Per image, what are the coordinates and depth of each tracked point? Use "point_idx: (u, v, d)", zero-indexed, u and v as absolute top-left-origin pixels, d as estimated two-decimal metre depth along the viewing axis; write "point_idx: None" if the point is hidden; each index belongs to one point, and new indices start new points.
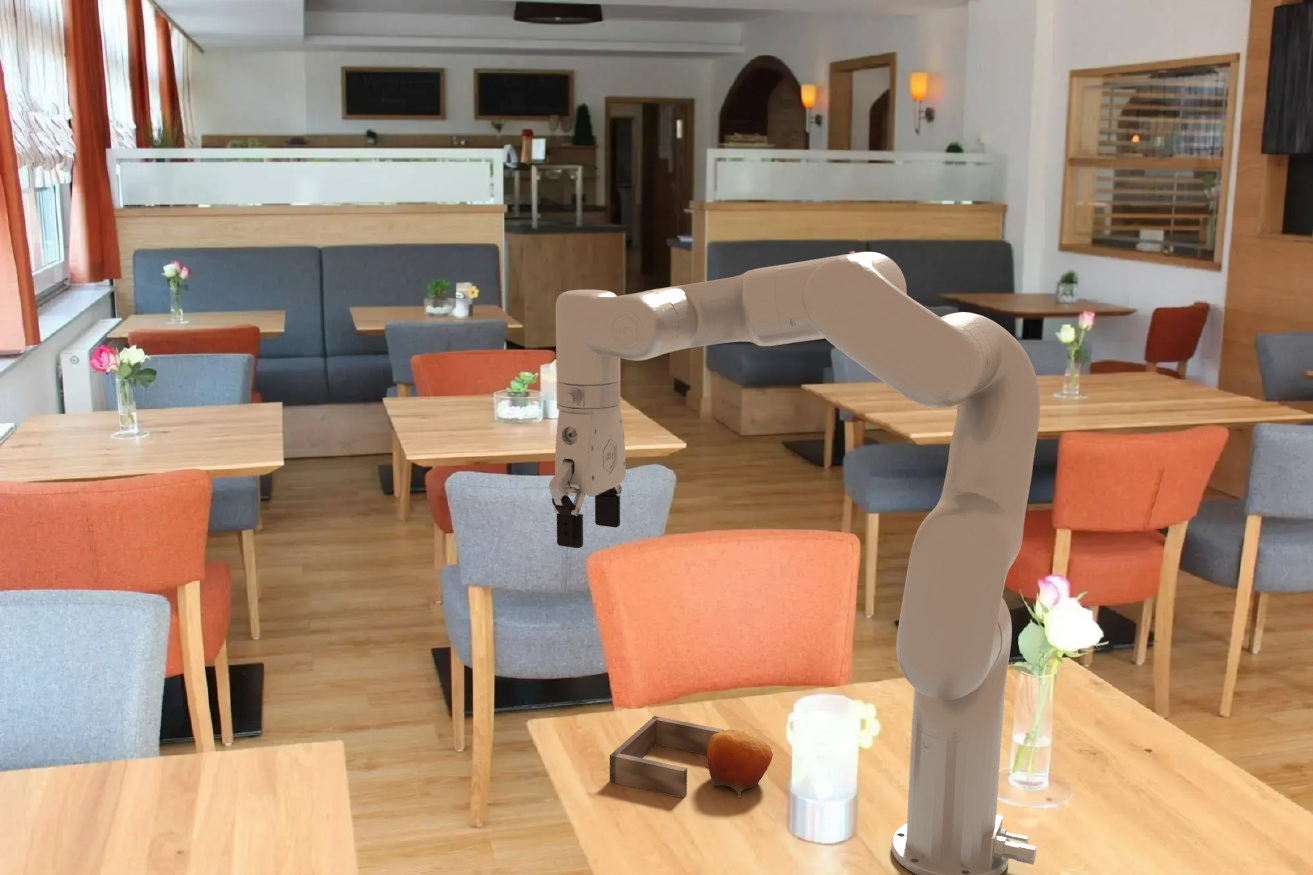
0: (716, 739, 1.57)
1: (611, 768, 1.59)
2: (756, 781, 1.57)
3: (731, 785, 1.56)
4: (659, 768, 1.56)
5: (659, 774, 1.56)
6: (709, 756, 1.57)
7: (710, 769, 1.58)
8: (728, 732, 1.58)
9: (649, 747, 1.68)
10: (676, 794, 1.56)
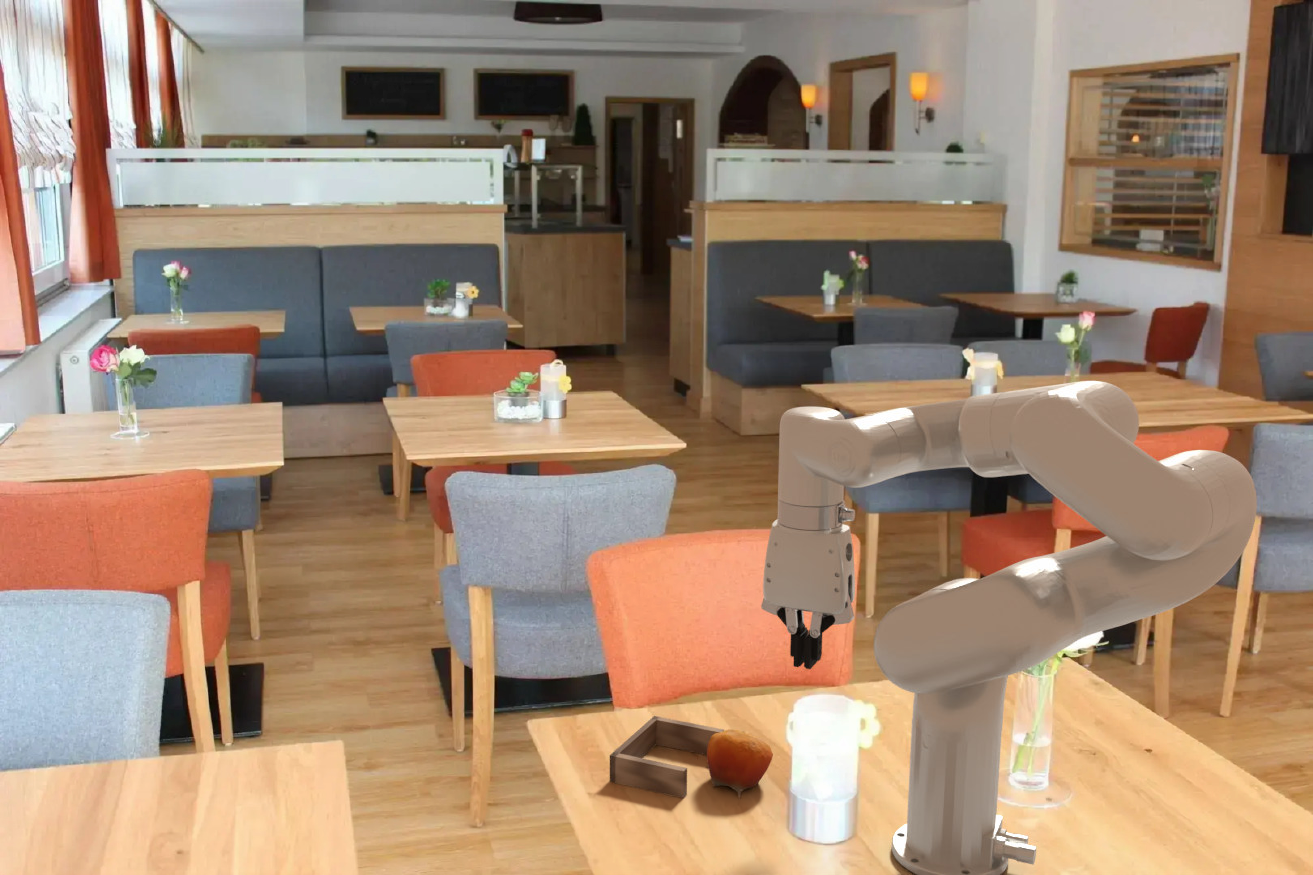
0: (716, 739, 1.57)
1: (611, 768, 1.59)
2: (756, 781, 1.57)
3: (731, 785, 1.56)
4: (659, 768, 1.56)
5: (659, 774, 1.56)
6: (709, 756, 1.57)
7: (710, 769, 1.58)
8: (728, 732, 1.58)
9: (649, 747, 1.68)
10: (676, 794, 1.56)
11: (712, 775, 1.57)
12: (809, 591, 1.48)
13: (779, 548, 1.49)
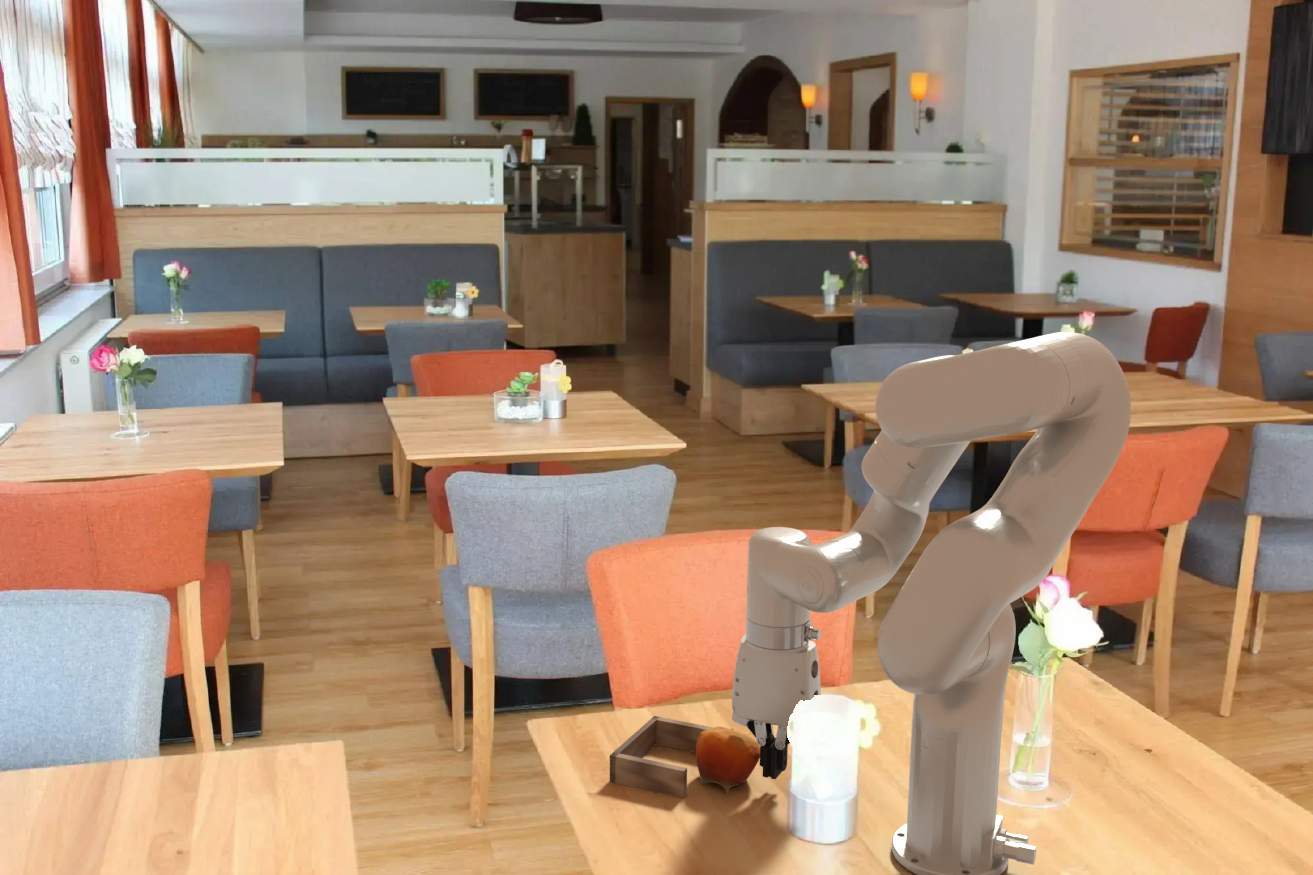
0: (704, 736, 1.58)
1: (611, 768, 1.59)
2: (744, 778, 1.57)
3: (719, 782, 1.57)
4: (659, 768, 1.56)
5: (659, 774, 1.56)
6: (697, 753, 1.58)
7: (698, 766, 1.58)
8: (717, 729, 1.59)
9: (649, 747, 1.68)
10: (676, 794, 1.56)
11: (700, 772, 1.58)
12: (776, 706, 1.53)
13: (747, 664, 1.53)
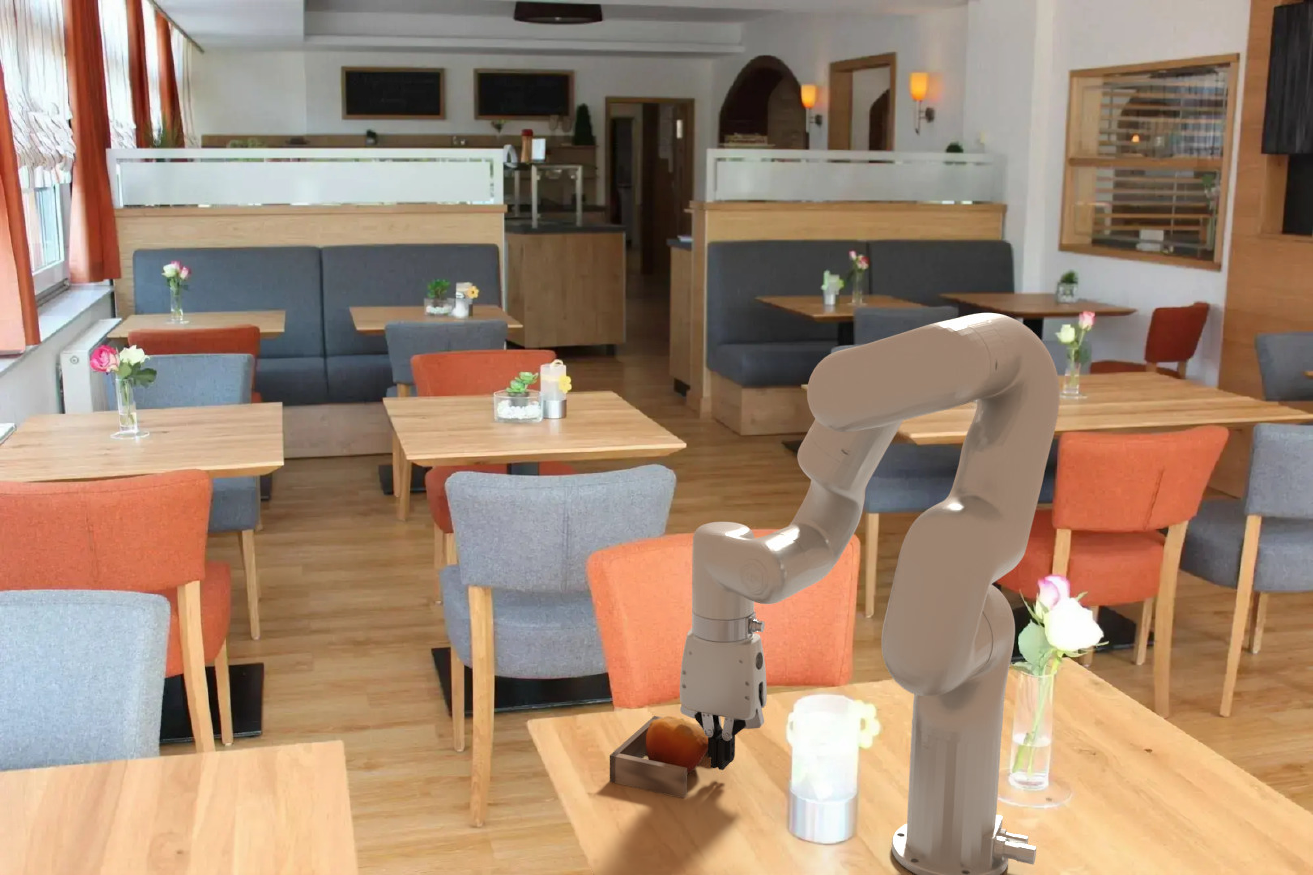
0: (653, 726, 1.61)
1: (611, 768, 1.59)
2: (692, 767, 1.60)
3: None
4: (659, 768, 1.56)
5: (659, 774, 1.56)
6: (647, 742, 1.61)
7: (648, 754, 1.61)
8: (666, 719, 1.62)
9: None
10: (676, 794, 1.56)
11: None
12: (722, 698, 1.55)
13: (693, 657, 1.56)
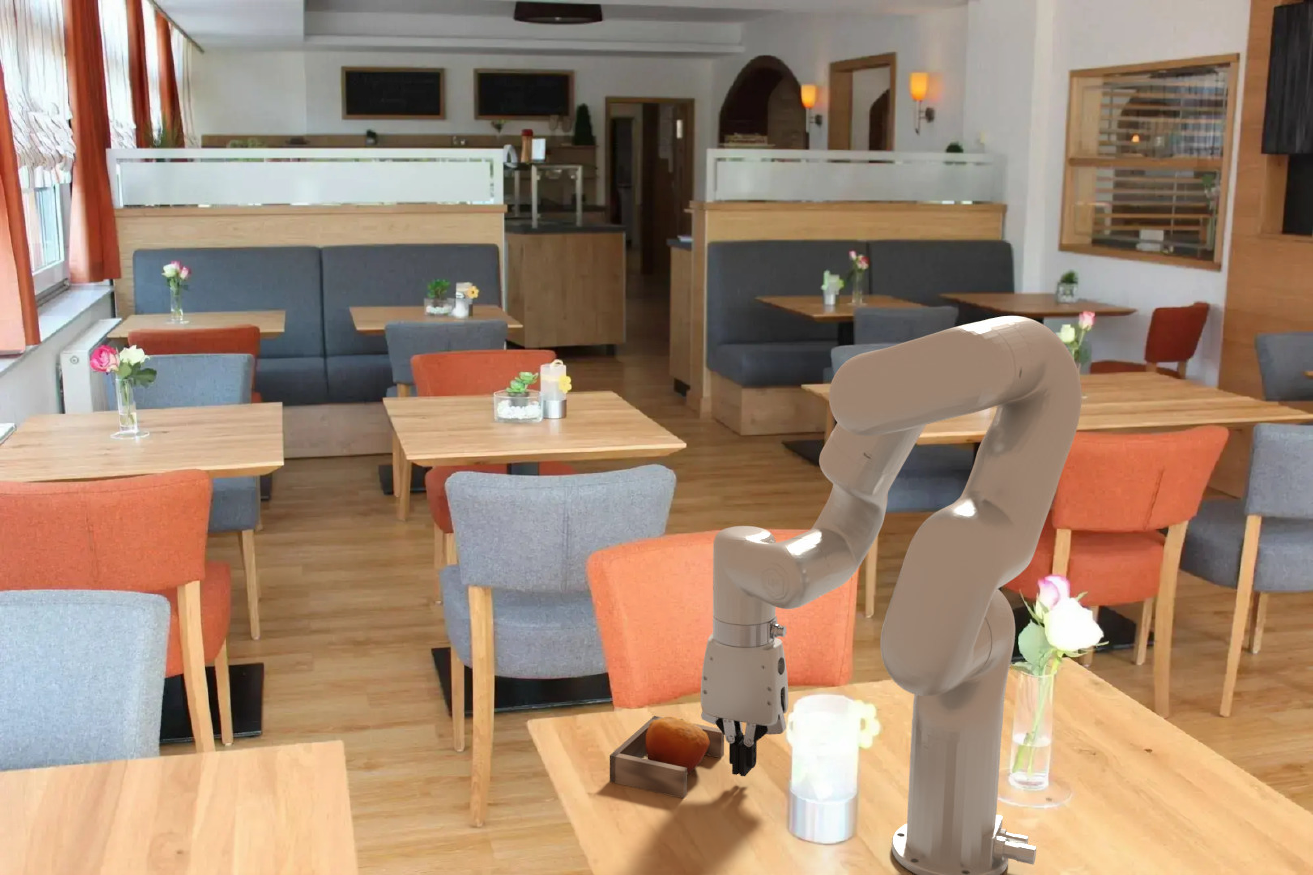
0: (653, 726, 1.61)
1: (611, 768, 1.59)
2: (691, 767, 1.60)
3: None
4: (659, 768, 1.56)
5: (659, 774, 1.56)
6: (646, 742, 1.61)
7: (647, 755, 1.61)
8: (666, 719, 1.62)
9: None
10: (676, 794, 1.56)
11: None
12: (743, 704, 1.54)
13: (714, 663, 1.55)
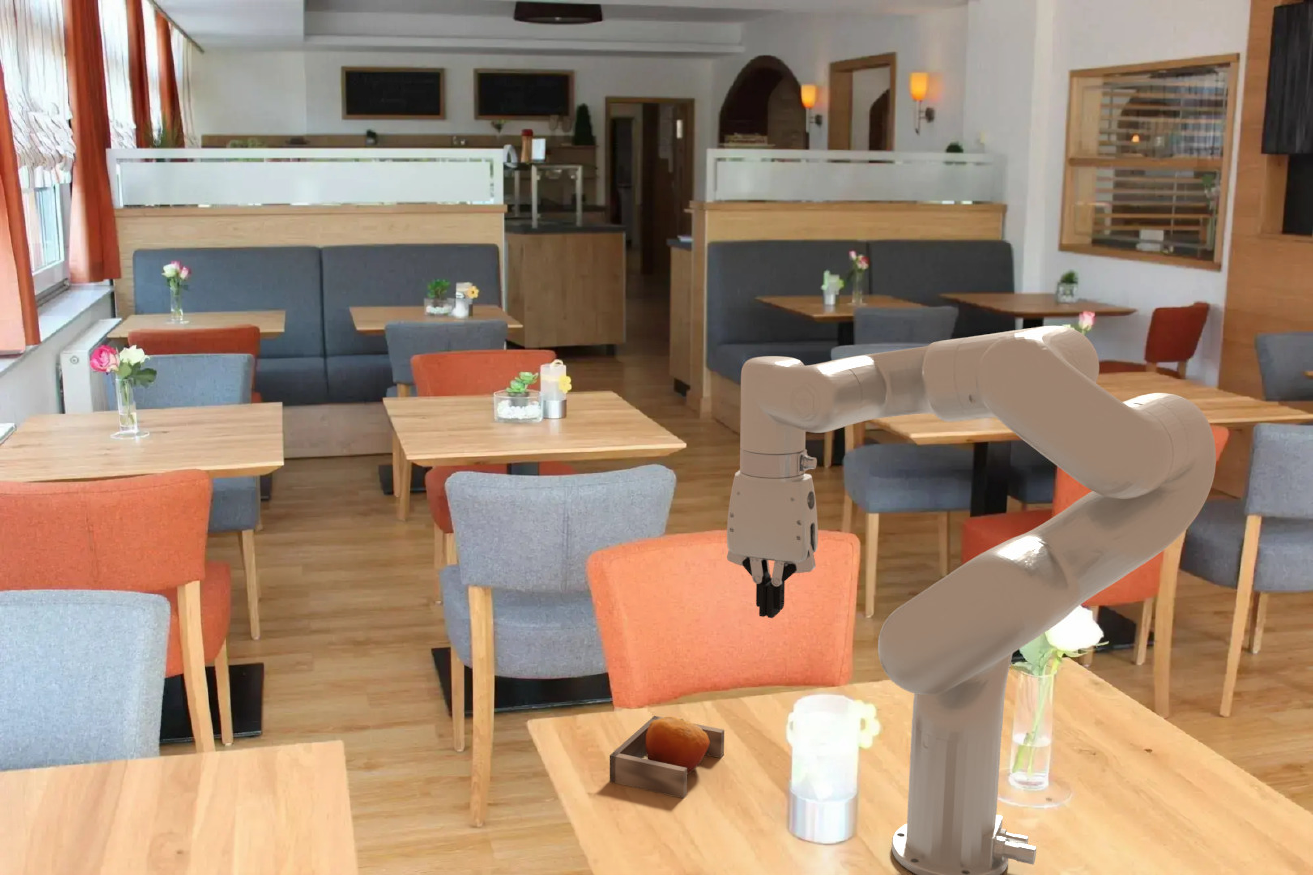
0: (653, 726, 1.61)
1: (611, 768, 1.59)
2: (691, 767, 1.60)
3: None
4: (659, 768, 1.56)
5: (659, 774, 1.56)
6: (646, 742, 1.61)
7: (647, 755, 1.61)
8: (666, 719, 1.62)
9: None
10: (676, 794, 1.56)
11: None
12: (772, 539, 1.49)
13: (741, 498, 1.49)
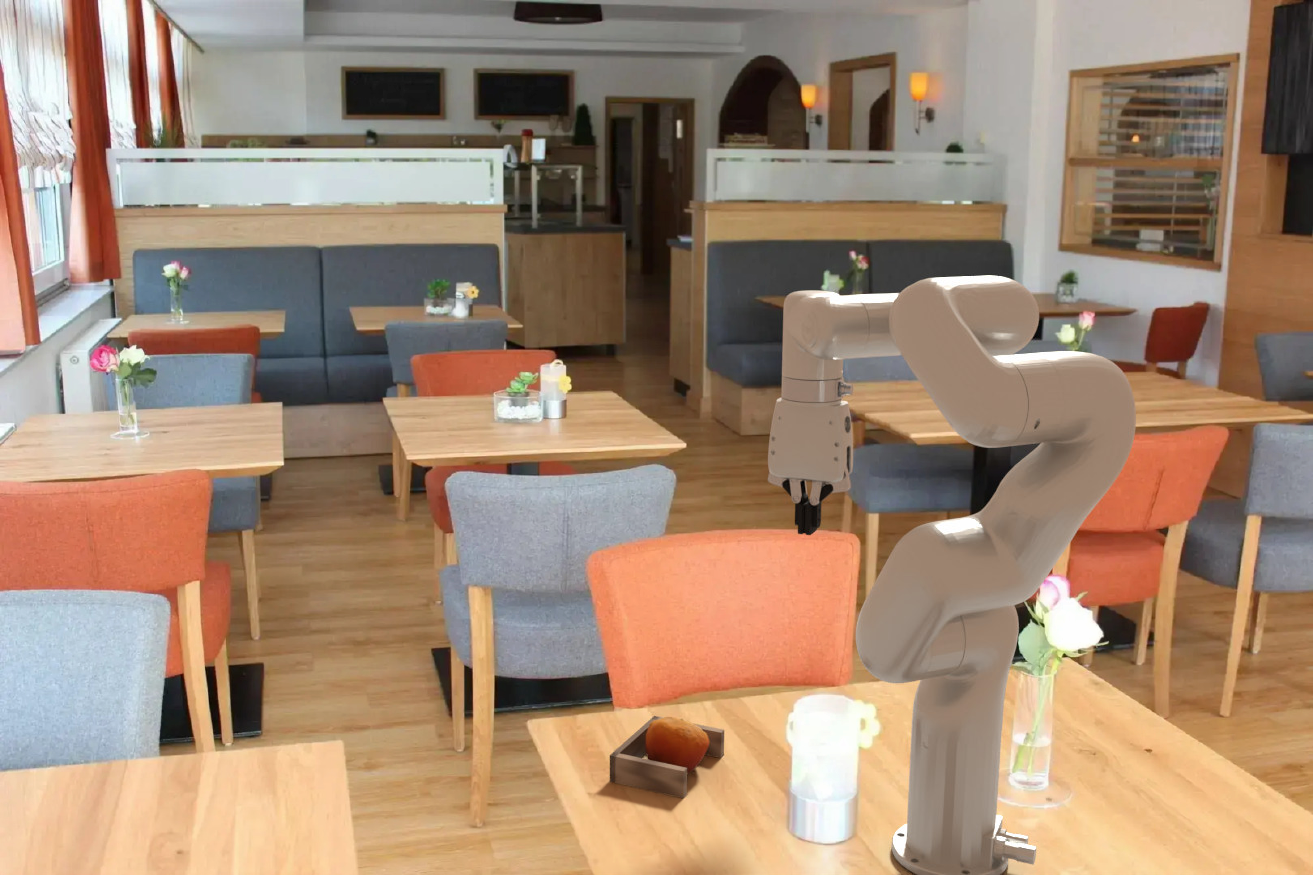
0: (653, 726, 1.61)
1: (611, 768, 1.59)
2: (691, 768, 1.60)
3: None
4: (659, 768, 1.56)
5: (659, 774, 1.56)
6: (646, 742, 1.61)
7: (647, 755, 1.61)
8: (666, 719, 1.62)
9: None
10: (676, 794, 1.56)
11: None
12: (811, 461, 1.60)
13: (782, 422, 1.61)
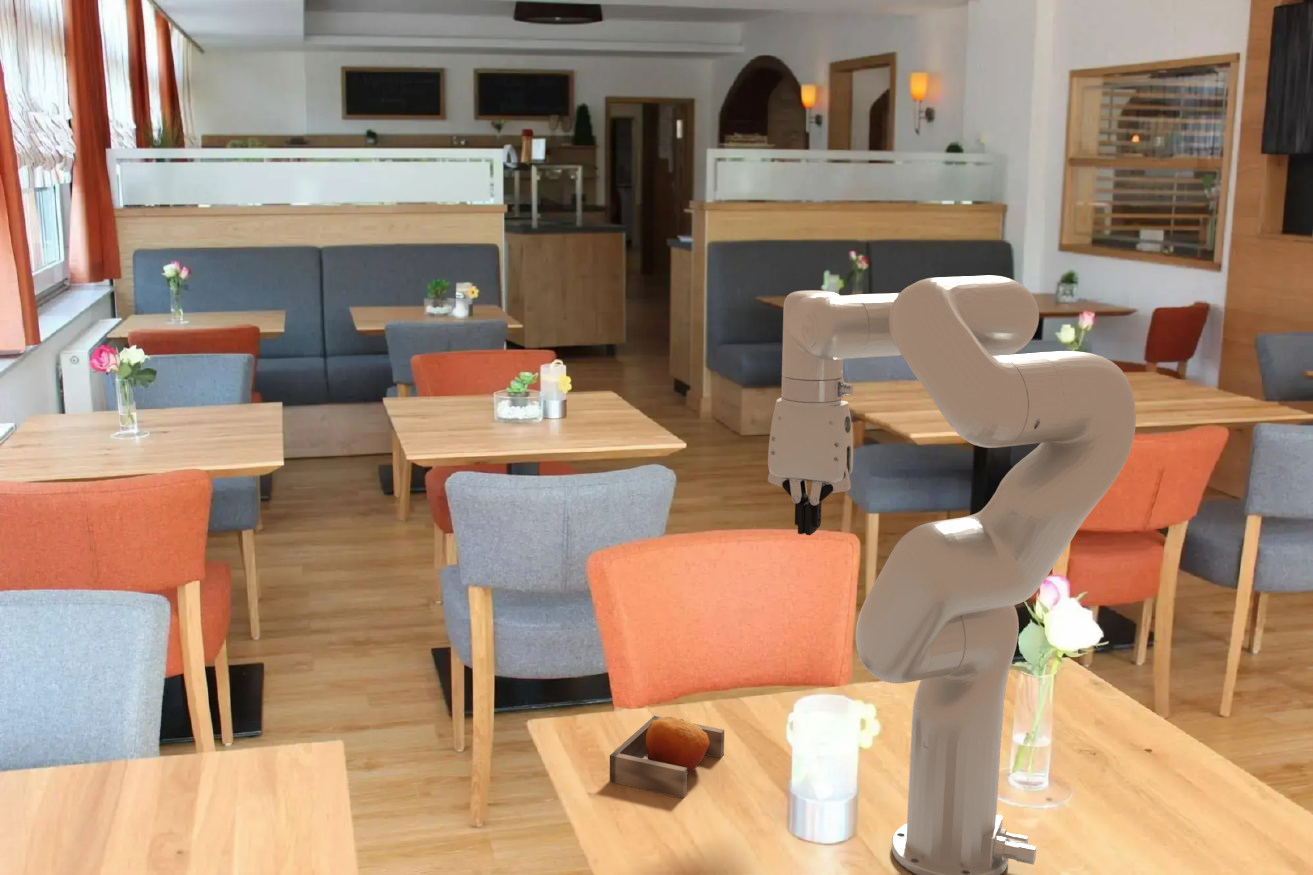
0: (653, 726, 1.61)
1: (611, 768, 1.59)
2: (691, 767, 1.60)
3: None
4: (659, 768, 1.56)
5: (659, 774, 1.56)
6: (646, 742, 1.61)
7: (647, 755, 1.61)
8: (666, 719, 1.62)
9: None
10: (676, 794, 1.56)
11: None
12: (811, 461, 1.60)
13: (782, 422, 1.61)
